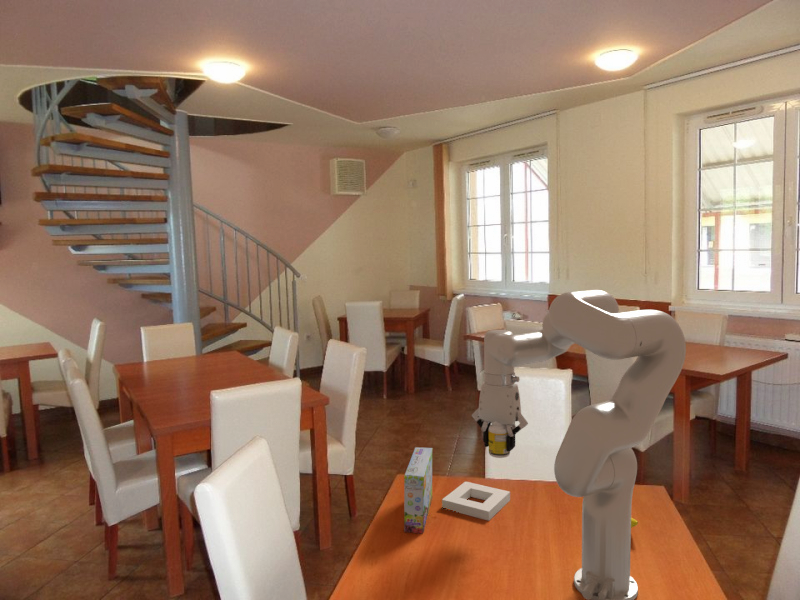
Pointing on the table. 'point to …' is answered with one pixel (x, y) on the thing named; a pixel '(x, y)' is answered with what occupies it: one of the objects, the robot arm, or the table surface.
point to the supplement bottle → (498, 440)
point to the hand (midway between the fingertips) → (499, 446)
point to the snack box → (418, 490)
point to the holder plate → (480, 510)
